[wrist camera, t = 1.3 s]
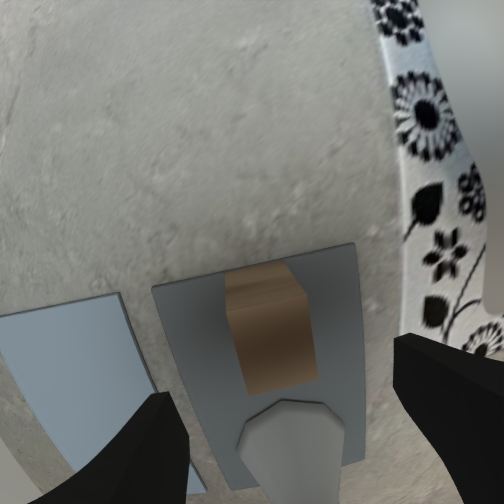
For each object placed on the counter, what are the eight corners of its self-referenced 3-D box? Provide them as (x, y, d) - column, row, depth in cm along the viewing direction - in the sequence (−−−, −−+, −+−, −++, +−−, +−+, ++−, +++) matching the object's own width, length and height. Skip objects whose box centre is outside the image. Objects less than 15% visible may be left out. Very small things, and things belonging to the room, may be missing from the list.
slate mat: (207, 489, 21) (207, 492, 20) (94, 489, 20) (93, 492, 20) (119, 292, 17) (116, 294, 16) (-10, 318, 16) (-13, 320, 16)
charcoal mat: (363, 455, 21) (385, 502, 16) (231, 486, 21) (234, 538, 16) (352, 242, 17) (401, 268, 12) (152, 286, 17) (124, 331, 11)
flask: (360, 415, 20) (419, 523, 10) (299, 475, 21) (327, 578, 11) (277, 382, 18) (315, 522, 9) (217, 451, 19) (221, 573, 10)
